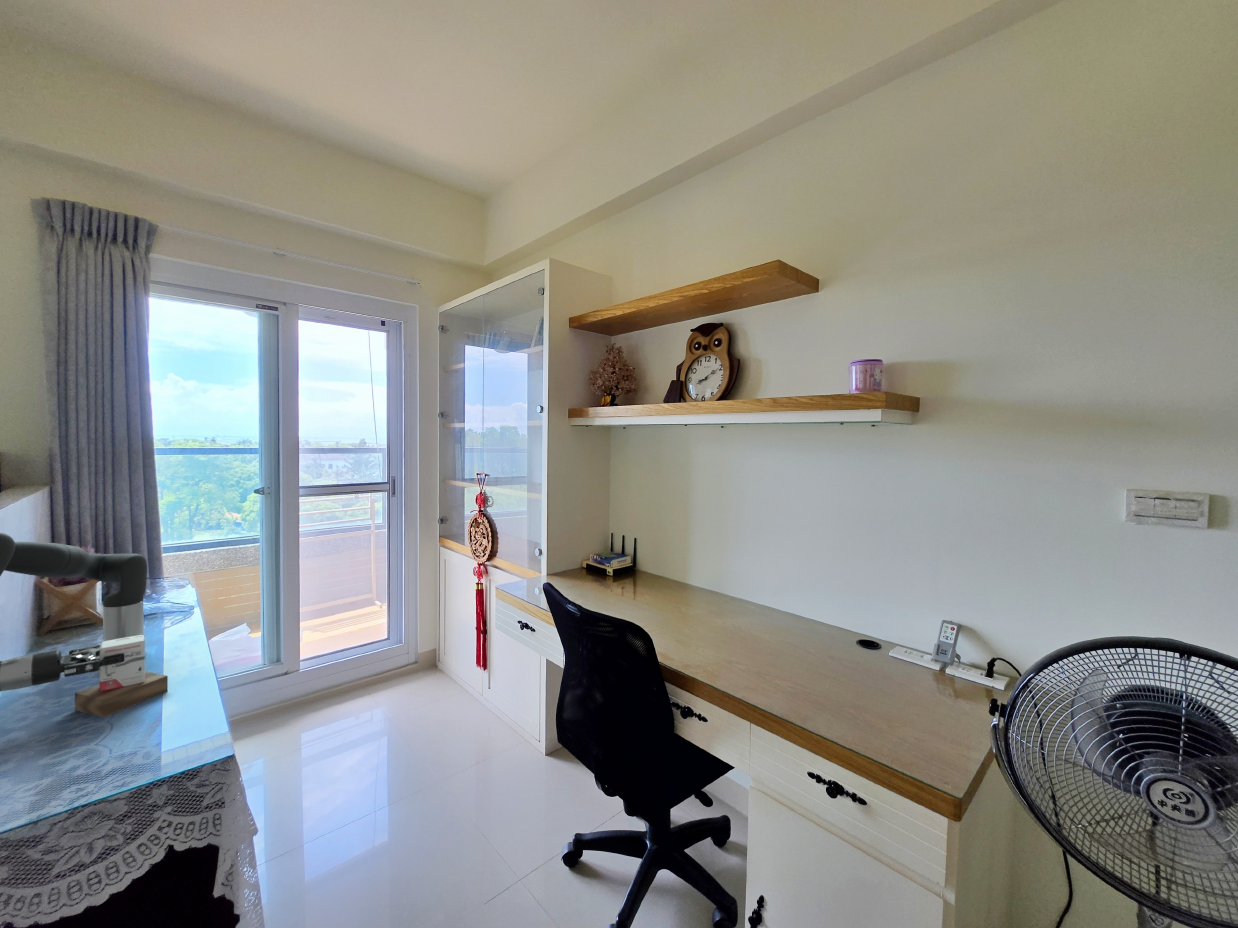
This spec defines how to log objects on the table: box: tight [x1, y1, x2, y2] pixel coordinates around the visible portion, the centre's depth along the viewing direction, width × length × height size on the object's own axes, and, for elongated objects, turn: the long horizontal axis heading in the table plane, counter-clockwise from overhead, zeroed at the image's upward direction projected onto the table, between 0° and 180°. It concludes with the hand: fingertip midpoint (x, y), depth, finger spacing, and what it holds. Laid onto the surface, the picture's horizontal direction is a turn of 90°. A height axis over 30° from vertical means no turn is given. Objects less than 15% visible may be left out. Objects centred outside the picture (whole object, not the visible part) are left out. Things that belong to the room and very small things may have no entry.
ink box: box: [98, 634, 146, 692], centre depth 132 cm, size 9×5×12 cm, turn 135°
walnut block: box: [74, 670, 169, 718], centre depth 133 cm, size 11×14×5 cm
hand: (124, 652), depth 133 cm, fingers open, 8 cm apart
